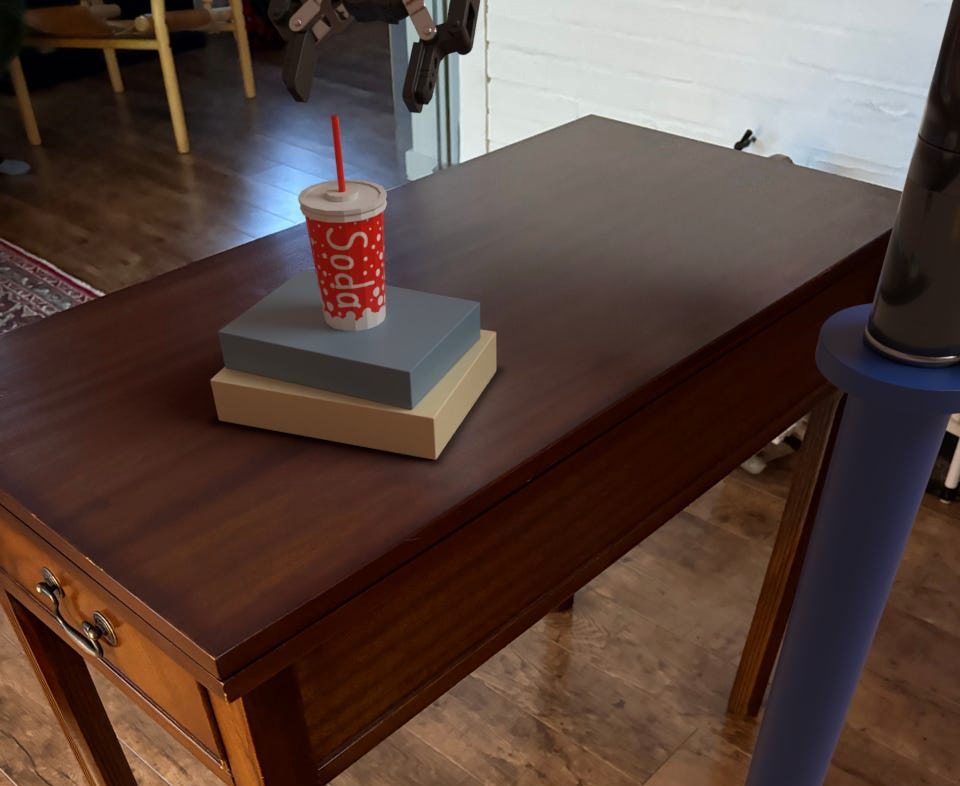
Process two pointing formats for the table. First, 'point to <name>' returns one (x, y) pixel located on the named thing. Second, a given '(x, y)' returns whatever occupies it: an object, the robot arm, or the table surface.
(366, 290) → the beverage cup
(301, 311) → the book stack
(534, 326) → the table surface
